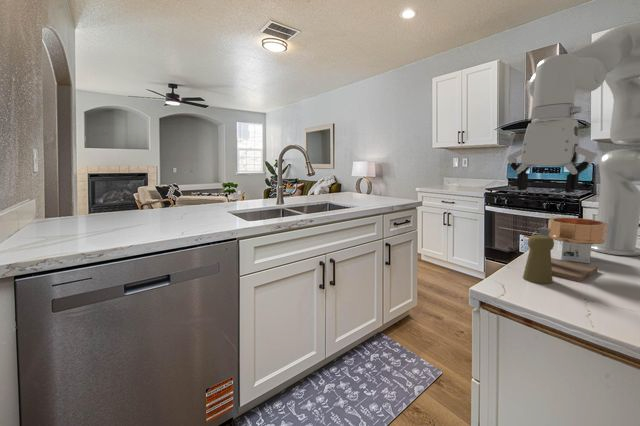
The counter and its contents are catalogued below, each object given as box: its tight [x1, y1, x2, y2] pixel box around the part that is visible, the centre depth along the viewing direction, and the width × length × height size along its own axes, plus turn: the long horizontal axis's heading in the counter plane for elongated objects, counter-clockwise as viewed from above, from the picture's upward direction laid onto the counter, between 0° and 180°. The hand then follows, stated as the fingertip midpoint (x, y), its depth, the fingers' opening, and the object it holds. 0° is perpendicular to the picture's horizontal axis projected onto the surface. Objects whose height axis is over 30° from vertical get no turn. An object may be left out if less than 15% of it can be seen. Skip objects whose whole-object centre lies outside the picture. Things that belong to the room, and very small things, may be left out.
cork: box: [522, 234, 555, 285], centre depth 75 cm, size 6×6×11 cm
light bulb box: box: [556, 240, 592, 264], centre depth 92 cm, size 11×7×11 cm, turn 148°
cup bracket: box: [538, 217, 608, 283], centre depth 80 cm, size 12×13×14 cm
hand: (544, 191), depth 73 cm, fingers open, 9 cm apart
